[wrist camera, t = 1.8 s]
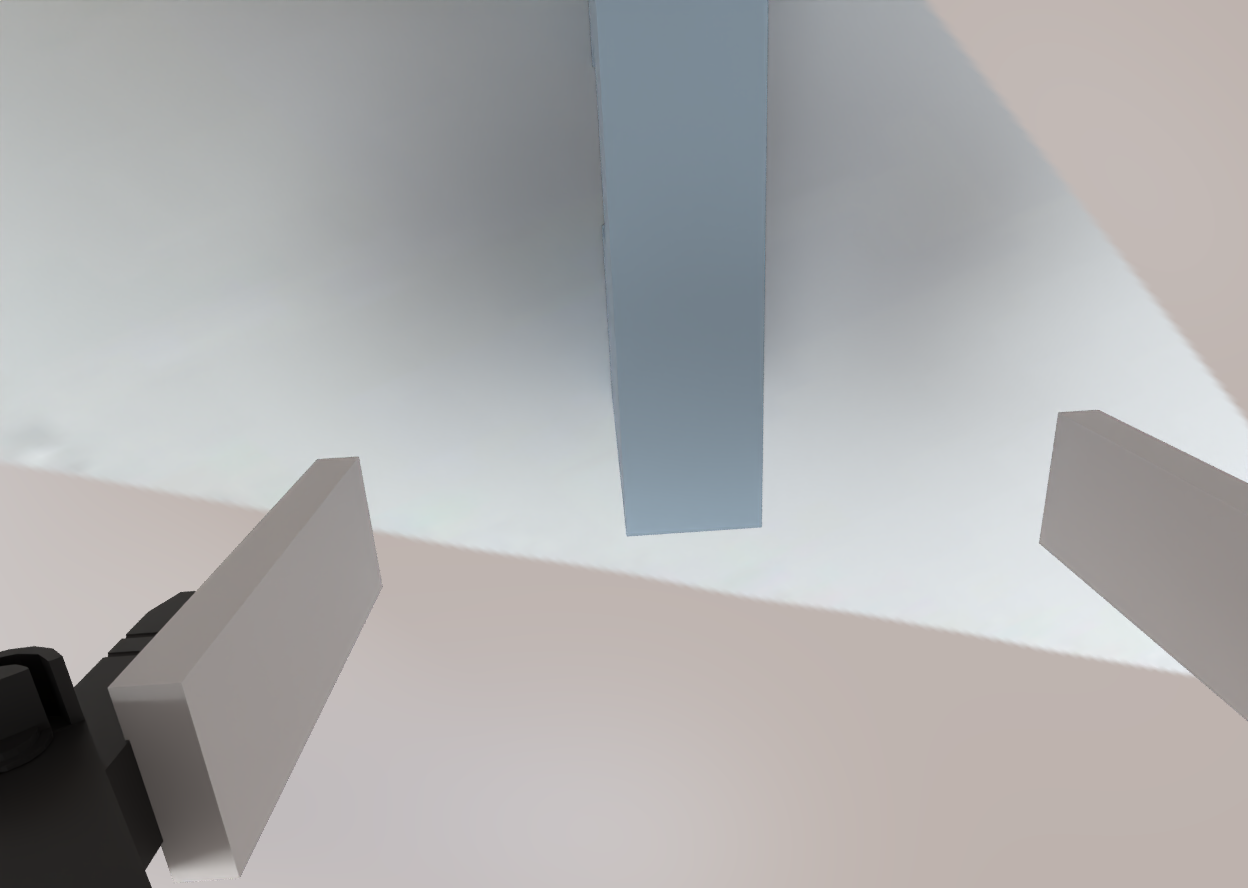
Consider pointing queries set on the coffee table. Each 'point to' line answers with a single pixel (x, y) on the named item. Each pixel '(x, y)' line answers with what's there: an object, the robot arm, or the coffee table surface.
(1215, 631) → the robot arm
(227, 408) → the coffee table surface
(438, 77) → the coffee table surface
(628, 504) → the blue bridge block
